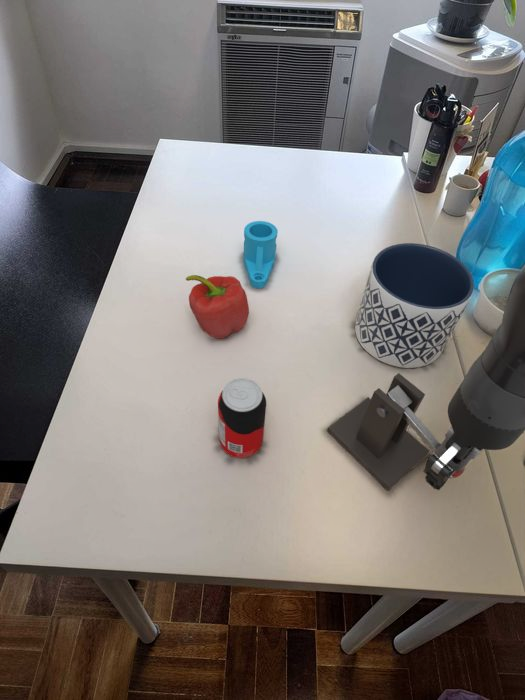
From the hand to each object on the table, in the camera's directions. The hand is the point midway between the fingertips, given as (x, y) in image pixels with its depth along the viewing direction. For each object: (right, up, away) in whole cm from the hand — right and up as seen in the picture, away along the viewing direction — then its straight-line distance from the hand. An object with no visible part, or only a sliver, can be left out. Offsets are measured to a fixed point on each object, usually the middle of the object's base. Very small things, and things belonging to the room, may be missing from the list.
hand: (443, 473), depth 61 cm
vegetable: (-31, +20, +23) cm, 44 cm away
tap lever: (-3, +5, +1) cm, 6 cm away
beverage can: (-27, +2, +8) cm, 28 cm away
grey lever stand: (-6, +2, +9) cm, 11 cm away
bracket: (-24, +32, +34) cm, 53 cm away
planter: (+1, +18, +24) cm, 30 cm away
